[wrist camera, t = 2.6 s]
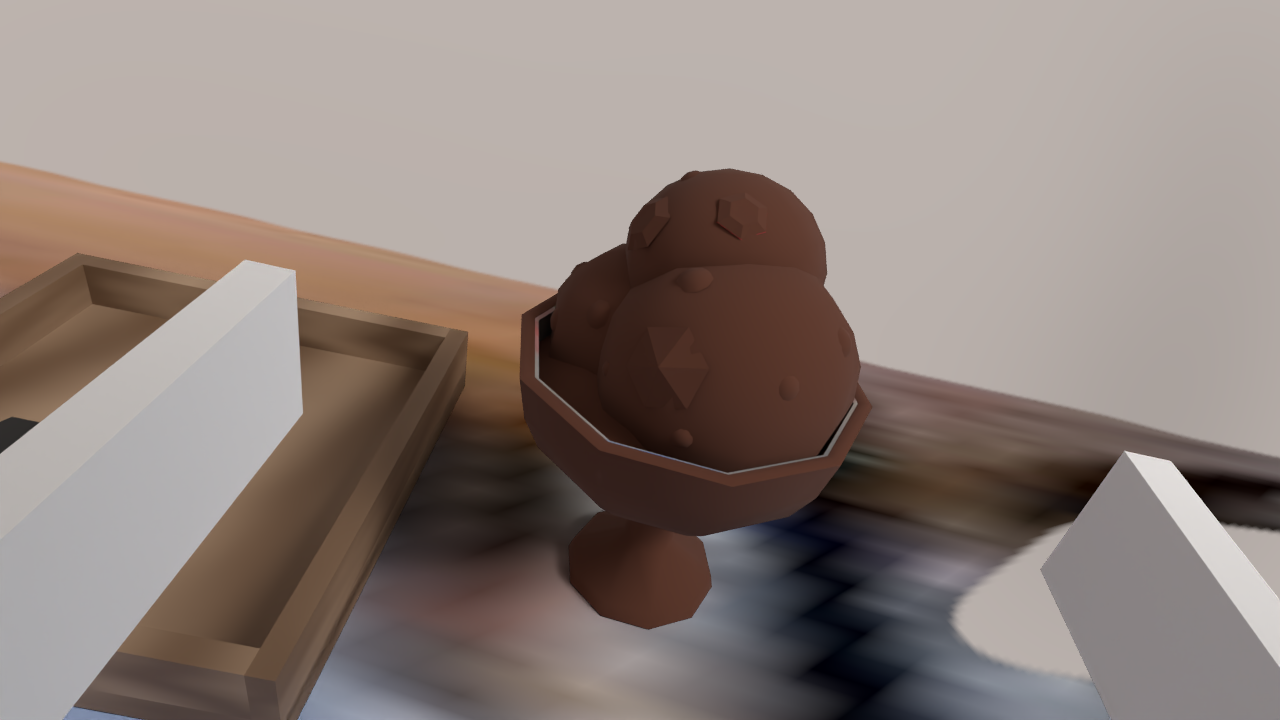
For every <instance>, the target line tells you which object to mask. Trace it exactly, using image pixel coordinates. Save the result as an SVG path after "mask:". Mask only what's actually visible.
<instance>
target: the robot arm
mask: <svg viewBox="0 0 1280 720" xmlns="http://www.w3.org/2000/svg"><path fill="white" fill-rule="evenodd" d="M302 414H303V404H302V385H301V367H300V348H299V329H298V310H297V292H296V273H295V270H290V269H286V268H281V267H277V266H272V265H267V264H263V263H258V262H254V261H249V260H244V261H243V262H242V263H240V264H239V265H238V266H236V267H235V268H234V269H233V270H231V271H230V272H229V273H228V274H226V275H225V276H224V277H223V278H221V279H220V280H219V281H218V282H216V283H215V284H214V285H213V286H211V287H210V288H209V289H207V290H206V291H205V292H204V293H202V294H201V295H200V296H199V297H197V298H196V299H195V300H194V301H192V302H191V303H190V304H189V305H187V306H186V307H185V308H184V309H182V310H181V311H180V312H178V313H177V314H176V315H175V316H173V317H172V318H171V319H170V320H168V321H167V322H166V323H165V324H163V325H162V326H161V327H160V328H158V329H157V330H156V331H155V332H153V333H152V334H151V335H149V336H148V337H147V338H146V339H144V340H143V341H142V342H141V343H139V344H138V345H137V346H136V347H134V348H133V349H132V350H131V351H129V352H128V353H127V354H126V355H124V356H123V357H122V358H120V359H119V360H118V361H117V362H115V363H114V364H113V365H112V366H110V367H109V368H108V369H107V370H105V371H104V372H103V373H102V374H100V375H99V376H98V377H97V378H95V379H94V380H93V381H91V382H90V383H89V384H88V385H86V386H85V387H84V388H83V389H81V390H80V391H79V392H78V393H76V394H75V395H74V396H73V397H71V398H70V399H69V400H68V401H66V402H65V403H64V404H62V405H61V406H60V407H59V408H57V409H56V410H55V411H54V412H52V413H51V414H50V415H49V416H47V417H46V418H45V419H44V420H42V421H41V422H36V421H31V420H26V419H21V418H17V417H10V418H8V419H5V420H3V421H1V422H0V720H63V719H64V717H65V716H66V715H67V713H68V712H69V711H70V710H71V708H72V707H73V706H74V705H75V703H76V702H77V701H78V699H79V698H80V697H81V696H82V694H83V693H84V692H85V691H86V689H87V688H88V687H89V685H90V684H91V683H92V682H93V680H94V679H95V678H96V676H97V675H98V674H99V673H100V671H101V670H102V669H103V668H104V666H105V665H106V664H107V662H108V661H109V660H110V659H111V657H112V656H113V655H114V654H115V652H116V651H117V650H118V648H119V647H120V646H121V645H122V643H123V642H124V641H125V640H126V638H127V637H128V636H129V634H130V633H131V632H132V631H133V629H134V628H135V627H136V626H137V624H138V623H139V622H140V620H141V619H142V618H143V617H144V615H145V614H146V613H147V612H148V610H149V609H150V608H151V606H152V605H153V604H154V603H155V601H156V600H157V599H158V597H159V596H160V595H161V594H162V592H163V591H164V590H165V589H166V587H167V586H168V585H169V583H170V582H171V581H172V580H173V578H174V577H175V576H176V575H177V573H178V572H179V571H180V569H181V568H182V567H183V566H184V564H185V563H186V562H187V561H188V559H189V558H190V557H191V555H192V554H193V553H194V552H195V550H196V549H197V548H198V547H199V545H200V544H201V543H202V541H203V540H204V539H205V538H206V536H207V535H208V534H209V533H210V531H211V530H212V529H213V527H214V526H215V525H216V524H217V522H218V521H219V520H220V518H221V517H222V516H223V515H224V513H225V512H226V511H227V510H228V508H229V507H230V506H231V504H232V503H233V502H234V501H235V499H236V498H237V497H238V496H239V494H240V493H241V492H242V490H243V489H244V488H245V487H246V485H247V484H248V483H249V482H250V480H251V479H252V478H253V476H254V475H255V474H256V473H257V471H258V470H259V469H260V468H261V466H262V465H263V464H264V462H265V461H266V460H267V459H268V457H269V456H270V455H271V454H272V452H273V451H274V450H275V448H276V447H277V446H278V445H279V443H280V442H281V441H282V440H283V438H284V437H285V436H286V434H287V433H288V432H289V431H290V429H291V428H292V427H293V425H294V424H295V423H296V422H297V420H298V419H299V418H300V417H301V415H302ZM1041 572H1042V574H1043V576H1044V578H1045V580H1046V582H1047V585H1048V587H1049V589H1050V591H1051V593H1052V595H1053V597H1054V599H1055V601H1056V604H1057V606H1058V608H1059V610H1060V612H1061V614H1062V616H1063V619H1064V621H1065V623H1066V625H1067V627H1068V629H1069V631H1070V633H1071V636H1072V637H1073V640H1074V642H1075V644H1076V646H1077V648H1078V650H1079V653H1080V655H1081V657H1082V659H1083V661H1084V663H1085V665H1086V667H1087V670H1088V672H1089V674H1090V676H1091V678H1092V680H1093V682H1094V684H1095V687H1096V689H1097V691H1098V693H1099V695H1100V697H1101V699H1102V701H1103V704H1104V706H1105V708H1106V710H1107V712H1108V714H1109V716H1110V718H1111V720H1280V599H1279V598H1278V597H1277V596H1276V594H1275V593H1274V592H1273V590H1272V589H1271V588H1270V587H1269V585H1268V584H1267V583H1266V582H1265V580H1264V579H1263V578H1262V576H1261V575H1260V574H1259V573H1258V571H1257V570H1256V569H1255V568H1254V566H1253V565H1252V564H1251V562H1250V561H1249V560H1248V559H1247V557H1246V556H1245V555H1244V554H1243V552H1242V551H1241V550H1240V549H1239V547H1238V546H1237V545H1236V543H1235V542H1234V541H1233V540H1232V538H1231V537H1230V536H1229V534H1228V533H1227V532H1226V531H1225V529H1224V528H1223V527H1222V526H1221V524H1220V523H1219V522H1218V520H1217V519H1216V518H1215V517H1214V515H1213V514H1212V513H1211V512H1210V510H1209V509H1208V508H1207V506H1206V505H1205V504H1204V503H1203V501H1202V500H1201V499H1200V497H1199V496H1198V495H1197V494H1196V492H1195V491H1194V490H1193V489H1192V487H1191V486H1190V485H1189V483H1188V482H1187V481H1186V480H1185V478H1184V477H1183V476H1182V475H1181V473H1180V472H1179V471H1178V469H1177V468H1176V467H1175V466H1174V464H1173V463H1172V462H1171V461H1168V460H1163V459H1159V458H1154V457H1149V456H1145V455H1140V454H1136V453H1131V452H1127V451H1124V452H1123V454H1122V455H1121V457H1120V458H1119V459H1118V461H1117V462H1116V464H1115V465H1114V466H1113V468H1112V469H1111V471H1110V472H1109V473H1108V475H1107V476H1106V478H1105V479H1104V480H1103V482H1102V483H1101V485H1100V486H1099V488H1098V489H1097V490H1096V492H1095V493H1094V495H1093V496H1092V497H1091V499H1090V500H1089V502H1088V503H1087V504H1086V506H1085V507H1084V509H1083V510H1082V511H1081V513H1080V514H1079V516H1078V517H1077V519H1076V520H1075V521H1074V523H1073V524H1072V526H1071V527H1070V528H1069V530H1068V531H1067V533H1066V534H1065V535H1064V537H1063V538H1062V540H1061V541H1060V542H1059V544H1058V545H1057V547H1056V548H1055V550H1054V551H1053V553H1052V554H1051V555H1050V557H1049V558H1048V559H1047V561H1046V562H1045V564H1044V565H1043V566H1042V568H1041Z"/></svg>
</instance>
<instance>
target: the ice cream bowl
mask: <svg viewBox="0 0 1280 720" xmlns="http://www.w3.org/2000/svg"><path fill="white" fill-rule="evenodd" d="M826 275H827V265H826V250H825V242H824V239H823V237H822V235H821V232H820V230H819V228H818V226H817V223H816V221H815V219H814V216H813V214H812V213H811V212H810V211H809V210H808V209H807V208H806V206H805V205H804V204H803V203H802V202H801V201H800V200H799V199H798V198H797V197H796V196H795V195H794V193H793V192H791V190H789V189H787V188H785V187H783V186H782V185H780V184H778V183H776V182H774V181H772V180H771V179H769V178H767V177H765V176H763V175H760V174H755V173H750V172H745V171H740V170H735V169H721V170H712V171H703V172H699V171H692V172H688V173H687V174H685V175H684V176H683V177H682V178H681V179H680V180H678V181H676V182H674V183H671V184H669V185H667V186H666V187H665V188H664V189H663V190H662V191H660V192H659V193H658V194H657V195H656V196H655V197H654V198H653V199H651V200H650V201H649V202H648V203H647V204H645V205H644V206H643V207H642V209H641V210H640V211H639V212H638V214H637V215H636V217H635V218H634V219H633V220H632V222H631V224H630V227H629V233H628V238H627V243H626V244H621V245H619V246H617V247H615V248H613V249H611V250H609V251H607V252H605V253H603V254H601V255H600V256H598V257H596V258H594V259H592V260H591V261H589V262H583V263H581V264H579V265H577V266H576V267H575V268H574V270H573V271H572V272H571V275H570V276H569V277H568V278H567V280H566V281H565V282H564V283H563V284H562V285H561V287H560V288H559V289H558V293H557V294H556V295H554V296H552V297H551V298H549V299H547V300H546V301H544V302H542V303H540V304H539V305H537V306H535V307H534V308H532V309H530V310H529V311H527V312H525V313H524V314H522V323H521V355H520V385H521V393H522V402H523V410H524V418H525V420H526V423H527V425H528V427H529V429H530V431H531V433H532V435H533V438H534V440H535V442H536V444H537V446H538V448H539V449H540V450H541V451H542V452H543V453H544V454H545V455H546V456H547V457H549V458H550V459H551V460H552V461H553V462H554V463H555V464H556V465H557V466H558V467H559V468H560V469H561V470H562V471H563V472H564V473H565V474H566V475H567V476H568V477H569V478H570V479H571V480H572V481H573V482H574V483H575V484H577V485H578V486H579V487H580V488H581V489H582V490H583V491H584V492H585V493H586V494H587V495H588V496H589V497H590V498H591V499H592V500H593V501H594V502H595V503H596V504H597V505H598V506H599V507H600V508H602V509H604V510H605V511H603V512H598V513H597V514H596V515H595V516H594V517H593V518H592V519H591V520H590V521H589V522H588V523H587V525H586V526H585V527H584V528H583V529H582V530H581V531H580V532H579V533H578V534H577V535H576V536H575V537H574V539H573V540H572V542H571V543H570V545H569V564H570V583H571V584H572V585H573V586H574V587H575V588H576V589H577V590H578V591H579V592H580V593H581V595H582V596H583V597H584V598H585V599H586V600H587V601H588V602H589V603H590V604H591V605H592V607H593V608H594V609H595V610H596V611H597V612H598V613H599V614H600V615H601V616H604V617H608V618H611V619H614V620H618V621H621V622H625V623H628V624H632V625H635V626H639V627H642V628H645V629H652V628H656V627H659V626H663V625H666V624H670V623H674V622H677V621H681V620H684V619H688V618H692V616H693V615H694V613H695V612H696V610H697V609H698V607H699V605H700V604H701V602H702V601H703V599H704V598H705V596H706V595H707V593H708V591H709V590H710V588H711V587H712V585H711V575H710V570H709V566H708V562H707V558H706V553H705V549H704V545H703V542H702V541H701V540H700V539H699V538H698V537H697V536H705V535H710V534H714V533H719V532H723V531H727V530H732V529H736V528H741V527H745V526H750V525H754V524H758V523H763V522H767V521H772V520H776V519H781V518H785V517H789V516H790V515H792V514H793V513H795V512H796V511H798V510H799V509H801V508H802V507H804V506H805V505H807V504H808V503H809V502H811V501H812V500H814V499H815V498H816V497H817V496H818V495H819V493H820V492H821V491H822V489H823V488H824V487H825V485H826V484H827V483H828V482H829V480H830V479H831V478H832V476H833V475H834V474H835V472H836V471H837V470H838V468H839V467H840V466H841V464H842V462H843V460H844V458H845V457H846V455H847V453H848V451H849V449H850V447H851V445H852V444H853V442H854V440H855V438H856V436H857V434H858V433H859V431H860V429H861V427H862V425H863V423H864V422H865V420H866V418H867V416H868V414H869V412H870V411H871V409H872V406H871V404H870V402H869V401H868V399H867V397H866V395H865V394H864V392H863V390H862V389H861V387H860V385H859V384H858V378H859V373H860V368H861V366H860V361H859V355H858V351H857V347H856V342H855V337H854V333H853V331H852V329H851V328H850V326H849V324H848V323H847V321H846V319H845V318H844V316H843V314H842V313H841V311H840V309H839V308H838V306H837V305H836V303H835V301H834V300H833V298H832V297H831V295H830V294H829V293H828V291H827V290H826V289H825V288H824V282H825V279H826Z"/></svg>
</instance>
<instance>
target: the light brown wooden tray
mask: <svg viewBox="0 0 1280 720" xmlns="http://www.w3.org/2000/svg"><path fill="white" fill-rule="evenodd" d="M216 282H218V281H213V280H208V279H203V278H198V277H194V276H189V275H184V274H179V273H174V272H169V271H164V270H159V269H154V268H149V267H144V266H139V265H134V264H129V263H124V262H119V261H114V260H109V259H104V258H99V257H94V256H89V255H84V254H79V253H77V254H75V255H73V256H72V257H70V258H68V259H66V260H65V261H63V262H61V263H60V264H58V265H56V266H54V267H53V268H51V269H49V270H48V271H46V272H44V273H43V274H41V275H39V276H37V277H36V278H34V279H32V280H31V281H29V282H27V283H25V284H24V285H22V286H20V287H19V288H17V289H15V290H14V291H12V292H10V293H8V294H7V295H5V296H3V297H2V298H0V422H1V421H3V420H5V419H8V418H10V417H17V418H21V419H26V420H31V421H36V422H41V421H42V420H44V419H45V418H46V417H47V416H49V415H50V414H51V413H52V412H54V411H55V410H56V409H57V408H59V407H60V406H61V405H62V404H64V403H65V402H66V401H68V400H69V399H70V398H71V397H73V396H74V395H75V394H76V393H78V392H79V391H80V390H81V389H83V388H84V387H85V386H86V385H88V384H89V383H90V382H91V381H93V380H94V379H95V378H97V377H98V376H99V375H100V374H102V373H103V372H104V371H105V370H107V369H108V368H109V367H110V366H112V365H113V364H114V363H115V362H117V361H118V360H119V359H120V358H122V357H123V356H124V355H126V354H127V353H128V352H129V351H131V350H132V349H133V348H134V347H136V346H137V345H138V344H139V343H141V342H142V341H143V340H144V339H146V338H147V337H148V336H149V335H151V334H152V333H153V332H155V331H156V330H157V329H158V328H160V327H161V326H162V325H163V324H165V323H166V322H167V321H168V320H170V319H171V318H172V317H173V316H175V315H176V314H177V313H178V312H180V311H181V310H182V309H184V308H185V307H186V306H187V305H189V304H190V303H191V302H192V301H194V300H195V299H196V298H197V297H199V296H200V295H201V294H202V293H204V292H205V291H206V290H207V289H209V288H210V287H211V286H213V285H214V284H215V283H216ZM297 310H298V329H299V348H300V367H301V385H302V404H303V414H302V415H301V417H300V418H299V419H298V420H297V422H296V423H295V424H294V425H293V427H292V428H291V429H290V431H289V432H288V433H287V434H286V436H285V437H284V438H283V440H282V441H281V442H280V443H279V445H278V446H277V447H276V448H275V450H274V451H273V452H272V454H271V455H270V456H269V457H268V459H267V460H266V461H265V462H264V464H263V465H262V466H261V468H260V469H259V470H258V471H257V473H256V474H255V475H254V476H253V478H252V479H251V480H250V482H249V483H248V484H247V485H246V487H245V488H244V489H243V490H242V492H241V493H240V494H239V496H238V497H237V498H236V499H235V501H234V502H233V503H232V504H231V506H230V507H229V508H228V510H227V511H226V512H225V513H224V515H223V516H222V517H221V518H220V520H219V521H218V522H217V524H216V525H215V526H214V527H213V529H212V530H211V531H210V533H209V534H208V535H207V536H206V538H205V539H204V540H203V541H202V543H201V544H200V545H199V547H198V548H197V549H196V550H195V552H194V553H193V554H192V555H191V557H190V558H189V559H188V561H187V562H186V563H185V564H184V566H183V567H182V568H181V569H180V571H179V572H178V573H177V575H176V576H175V577H174V578H173V580H172V581H171V582H170V583H169V585H168V586H167V587H166V589H165V590H164V591H163V592H162V594H161V595H160V596H159V597H158V599H157V600H156V601H155V603H154V604H153V605H152V606H151V608H150V609H149V610H148V612H147V613H146V614H145V615H144V617H143V618H142V619H141V620H140V622H139V623H138V624H137V626H136V627H135V628H134V629H133V631H132V632H131V633H130V634H129V636H128V637H127V638H126V640H125V641H124V642H123V643H122V645H121V646H120V647H119V648H118V650H117V651H116V652H115V654H114V655H113V656H112V657H111V659H110V660H109V661H108V662H107V664H106V665H105V666H104V668H103V669H102V670H101V671H100V673H99V674H98V675H97V676H96V678H95V679H94V680H93V682H92V683H91V684H90V685H89V687H88V688H87V689H86V691H85V692H84V693H83V694H82V696H81V697H80V698H79V699H78V701H77V702H76V703H75V705H74V706H75V707H81V708H86V709H91V710H97V711H102V712H107V713H112V714H118V715H123V716H128V717H134V718H139V719H144V720H297V719H298V717H299V715H300V713H301V711H302V709H303V707H304V705H305V703H306V701H307V699H308V697H309V695H310V693H311V691H312V689H313V687H314V685H315V683H316V681H317V679H318V677H319V675H320V673H321V671H322V669H323V667H324V665H325V663H326V661H327V659H328V657H329V655H330V653H331V651H332V649H333V647H334V645H335V643H336V641H337V639H338V637H339V635H340V633H341V631H342V629H343V627H344V625H345V623H346V621H347V619H348V617H349V615H350V613H351V611H352V609H353V607H354V605H355V603H356V601H357V599H358V597H359V595H360V593H361V591H362V589H363V587H364V585H365V583H366V581H367V579H368V577H369V575H370V573H371V571H372V569H373V567H374V565H375V563H376V561H377V559H378V557H379V555H380V553H381V552H382V550H383V548H384V546H385V544H386V542H387V540H388V538H389V536H390V534H391V532H392V530H393V528H394V526H395V524H396V522H397V520H398V518H399V516H400V514H401V512H402V510H403V508H404V506H405V504H406V502H407V500H408V498H409V496H410V494H411V492H412V490H413V488H414V486H415V484H416V482H417V480H418V478H419V476H420V474H421V472H422V470H423V468H424V466H425V464H426V462H427V460H428V458H429V456H430V454H431V452H432V450H433V448H434V446H435V444H436V442H437V440H438V438H439V436H440V434H441V432H442V430H443V428H444V426H445V424H446V422H447V420H448V418H449V416H450V414H451V412H452V410H453V408H454V406H455V404H456V402H457V400H458V398H459V396H460V394H461V392H462V390H463V388H464V386H465V373H466V358H467V343H468V332H466V331H461V330H456V329H451V328H446V327H442V326H437V325H432V324H427V323H422V322H417V321H412V320H407V319H402V318H397V317H392V316H387V315H382V314H377V313H372V312H367V311H362V310H357V309H352V308H347V307H342V306H337V305H332V304H327V303H322V302H318V301H313V300H308V299H303V298H298V297H297Z"/></svg>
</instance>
